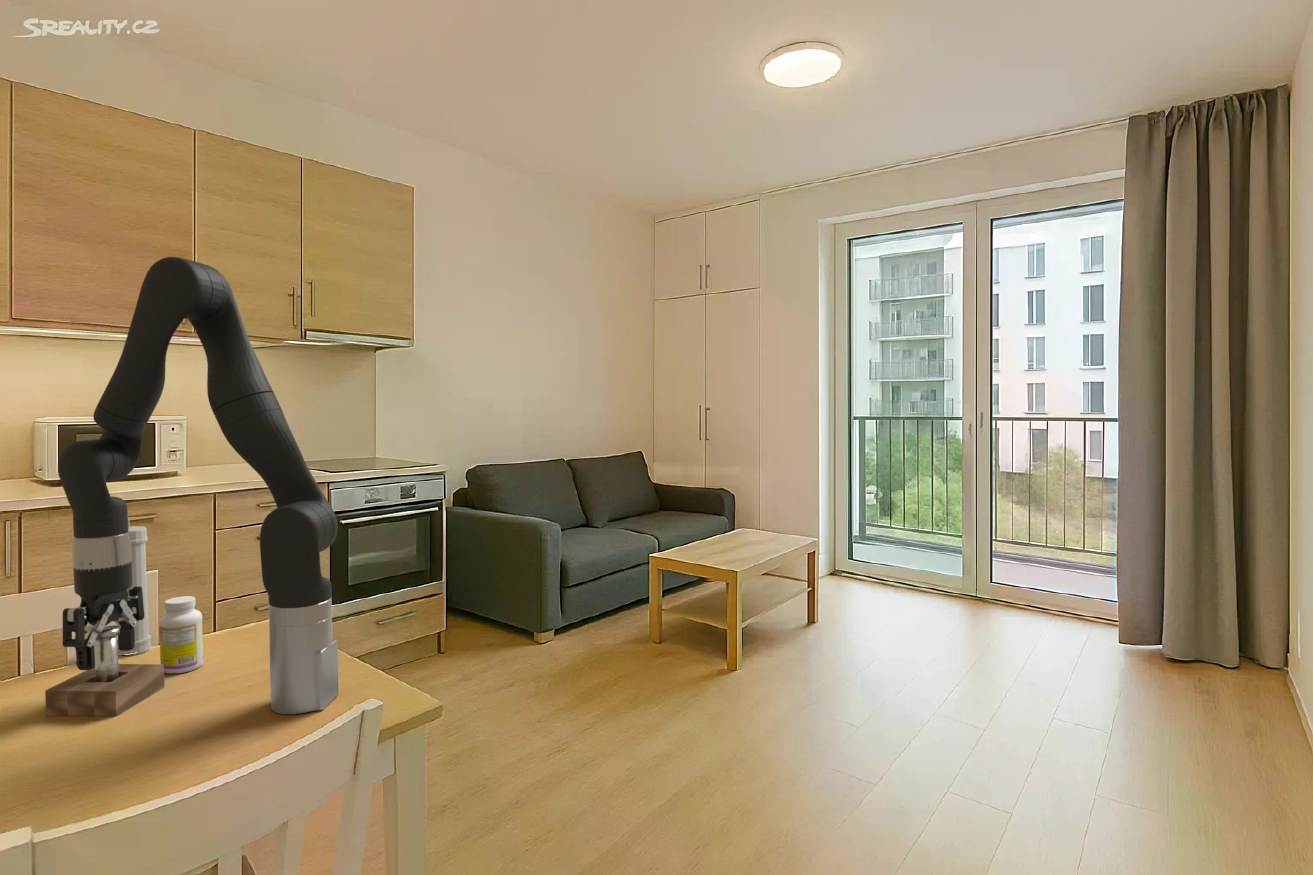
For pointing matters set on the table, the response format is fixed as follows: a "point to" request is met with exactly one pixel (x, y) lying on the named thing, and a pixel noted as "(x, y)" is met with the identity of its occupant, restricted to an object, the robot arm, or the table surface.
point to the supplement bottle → (181, 636)
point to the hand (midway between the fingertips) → (107, 659)
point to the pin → (106, 654)
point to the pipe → (140, 579)
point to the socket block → (104, 691)
